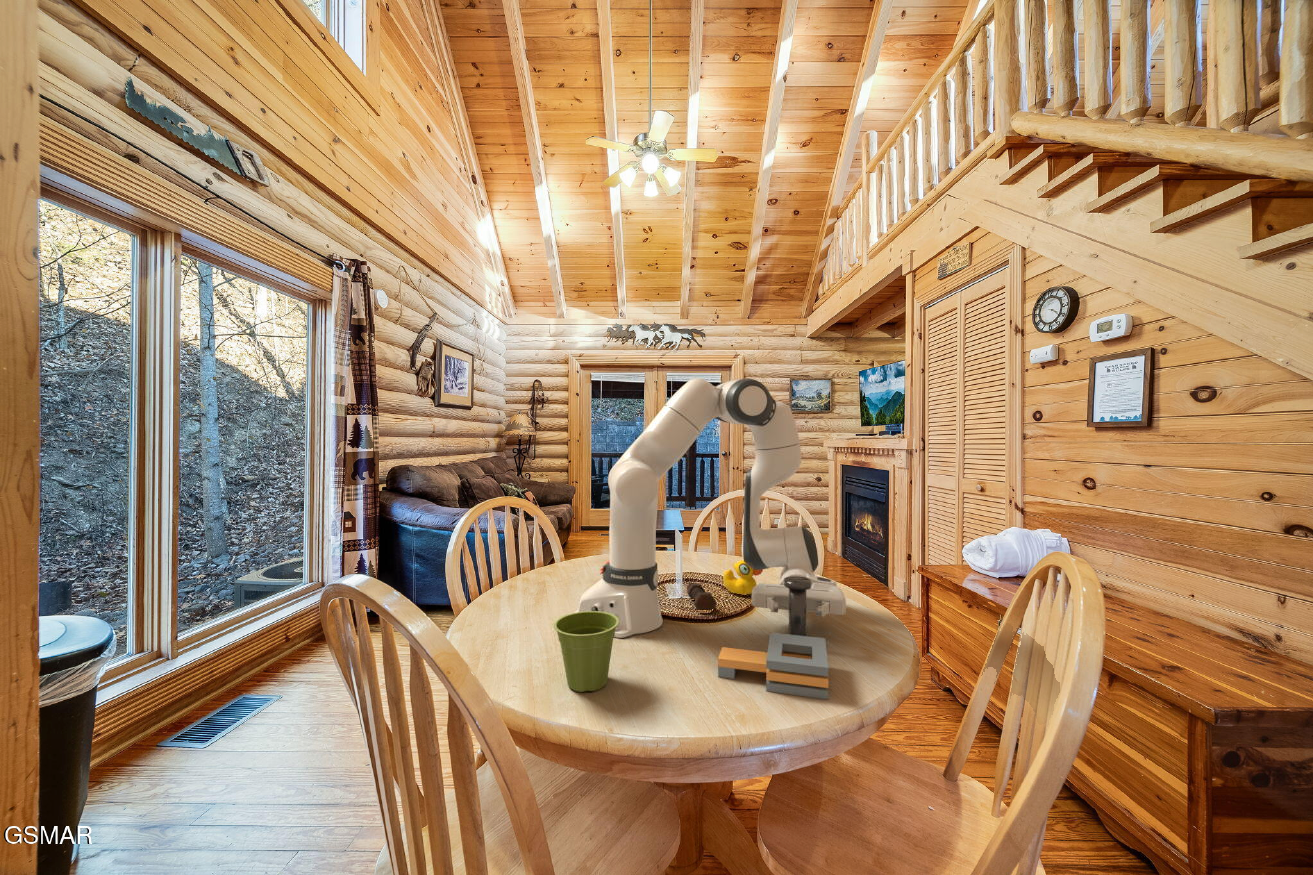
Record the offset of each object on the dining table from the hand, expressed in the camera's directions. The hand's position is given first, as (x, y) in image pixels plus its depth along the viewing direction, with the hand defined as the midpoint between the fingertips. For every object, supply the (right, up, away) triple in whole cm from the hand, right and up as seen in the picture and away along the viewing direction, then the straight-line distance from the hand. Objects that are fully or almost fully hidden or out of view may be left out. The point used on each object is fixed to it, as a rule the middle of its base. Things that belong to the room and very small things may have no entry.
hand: (797, 611), depth 106 cm
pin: (0, -8, +1) cm, 8 cm away
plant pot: (-42, -8, -14) cm, 45 cm away
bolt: (-18, -8, +27) cm, 34 cm away
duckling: (-6, -7, +34) cm, 35 cm away
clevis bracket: (-8, -8, -11) cm, 16 cm away
